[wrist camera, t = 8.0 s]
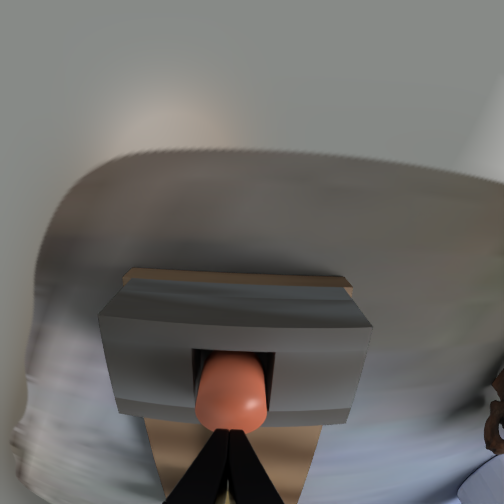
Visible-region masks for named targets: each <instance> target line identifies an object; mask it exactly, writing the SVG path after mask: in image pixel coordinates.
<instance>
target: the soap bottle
mask: <svg viewBox="0 0 504 504" xmlns="http://www.w3.org/2000/svg"><path fill="white" fill-rule="evenodd" d="M458 498H459V500H460V502H461V503H462V504H504V454H501V455H498V456H496V457H494V458H493V459H491V460H490V461H488V462H486V463H485V464H484V465H483V466H481V467H480V468H479V469H477V470H476V471H475V472H474V473H473V474H472V475H470V476H469V477H468V478H467V480H466V481H465V482H464V483H463V484H462V485H461V487H460V488H459V490H458Z"/></svg>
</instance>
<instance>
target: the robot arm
mask: <svg viewBox="0 0 504 504" xmlns="http://www.w3.org/2000/svg"><path fill="white" fill-rule="evenodd" d="M227 490H228V494H229V502H230V504H285V503H284V501H283V500H282V498H281V496H280V495H279V493H278V491H277V490H276V488H275V486H274V485H273V483H272V481H271V479H270V478H269V476H268V474H267V472H266V471H265V469H264V467H263V465H262V464H261V462H260V460H259V458H258V456H257V454H256V453H255V451H254V449H253V447H252V445H251V443H250V442H249V440H248V438H247V436H246V434H245V432H244V431H243V430H242V429H231V430H230V432H229V429H223V428H217V429H215V430H214V432H213V433H212V435H211V436H210V438H209V439H208V441H207V442H206V444H205V445H204V447H203V448H202V449H201V451H200V452H199V454H198V455H197V457H196V458H195V459H194V461H193V462H192V464H191V465H190V467H189V468H188V469H187V471H186V472H185V474H184V475H183V476H182V478H181V479H180V480H179V482H178V483H177V485H176V486H175V487H174V489H173V490H172V491H171V493H170V494H169V495H168V497H167V498H166V500H165V501H164V502H163V503H162V504H225V502H226V496H227Z"/></svg>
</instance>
